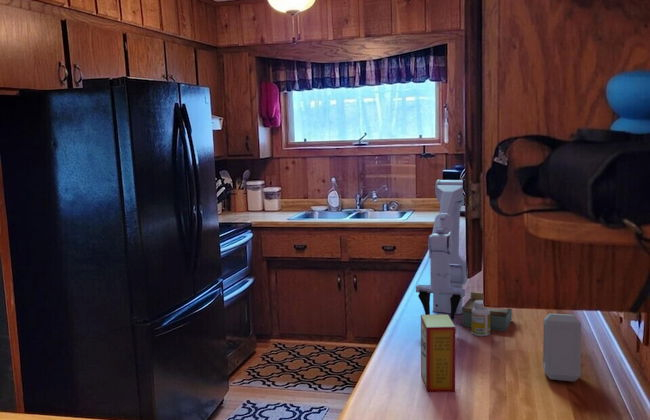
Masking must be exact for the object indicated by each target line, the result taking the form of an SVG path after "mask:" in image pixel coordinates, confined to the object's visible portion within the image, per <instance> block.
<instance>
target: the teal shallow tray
mask: <svg viewBox="0 0 650 420" xmlns="http://www.w3.org/2000/svg"><path fill="white" fill-rule="evenodd" d="M512 312H513V308H512V309H510V311H509V312H508V314H507V316H502V315H493V314H490V331H491V330H493V331H499V332H500V331H501V332H506V331H507V330H508V328H509V326H510V324H511V323H512V321H511V320H512V319H513V317H512V316H513V313H512ZM461 316H462V325H461V326H462V327H468V328H472V312H466V311H463V312H462V315H461ZM510 322H511V323H510Z"/></svg>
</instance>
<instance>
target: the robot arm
mask: <svg viewBox="0 0 650 420" xmlns="http://www.w3.org/2000/svg"><path fill="white" fill-rule="evenodd" d="M463 180H464V179H437V180H436V182H435V185H434V186H435V187H434V191H435V193H434V194H435V197H436V199H437V202H438V204H439V205H440V206H439V214H437V215H436V216H435V218H434V222H433V227H432V233H431V234H429V235H428V242H427V245H428V248H427V249H428V254H429V255H428V257H429V259H430V267H429V268H430V272H429V273H430V284H417V285H415V293H417V294H418V296H417V297H418V299H419V300H420V302H421V304H422V307H423V311H424V315H431V304H430V301H431V294H433V295H432V312H438V313H444V314H450V319H451V321H453V320H455V318H456V315H462V314H463V311H462V307H463V306H464V305H463V302H464V301H463V300H464V299H463V298H465V296H466V288H463V287H464V285H466V284H467V281H468V277H467V278H466V262H467V260H465V258H463V257H462V256H461V255H460V227H461V226H460V222H461V221H460V220H461V219H460V216H461V211H462V207H463V206H465V205H464V195H463Z"/></svg>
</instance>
